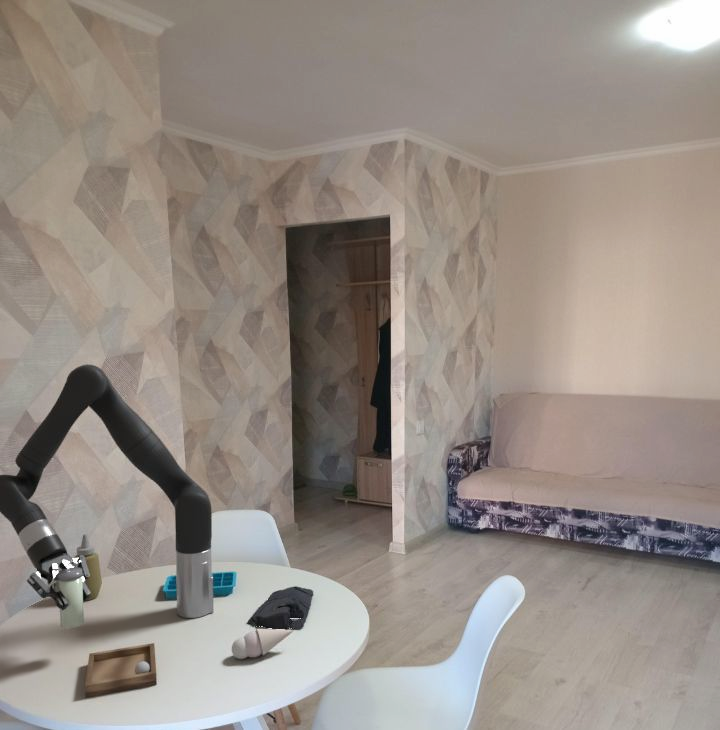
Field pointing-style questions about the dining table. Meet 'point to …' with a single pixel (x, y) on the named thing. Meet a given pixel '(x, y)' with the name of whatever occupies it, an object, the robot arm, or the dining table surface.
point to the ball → (142, 668)
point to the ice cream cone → (258, 642)
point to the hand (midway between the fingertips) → (76, 602)
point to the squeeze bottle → (90, 566)
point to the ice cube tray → (221, 584)
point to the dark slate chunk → (284, 609)
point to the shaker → (71, 597)
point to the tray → (119, 670)
